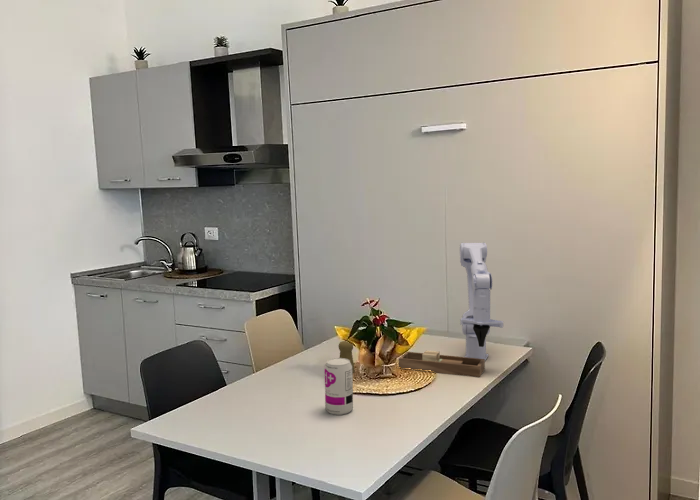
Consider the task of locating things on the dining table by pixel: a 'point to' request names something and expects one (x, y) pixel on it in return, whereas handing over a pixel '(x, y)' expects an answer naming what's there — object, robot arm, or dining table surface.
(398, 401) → the dining table surface
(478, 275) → the robot arm
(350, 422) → the dining table surface
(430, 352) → the maple block
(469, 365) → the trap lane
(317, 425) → the dining table surface
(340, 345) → the olive pepper mill
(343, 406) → the supplement can
